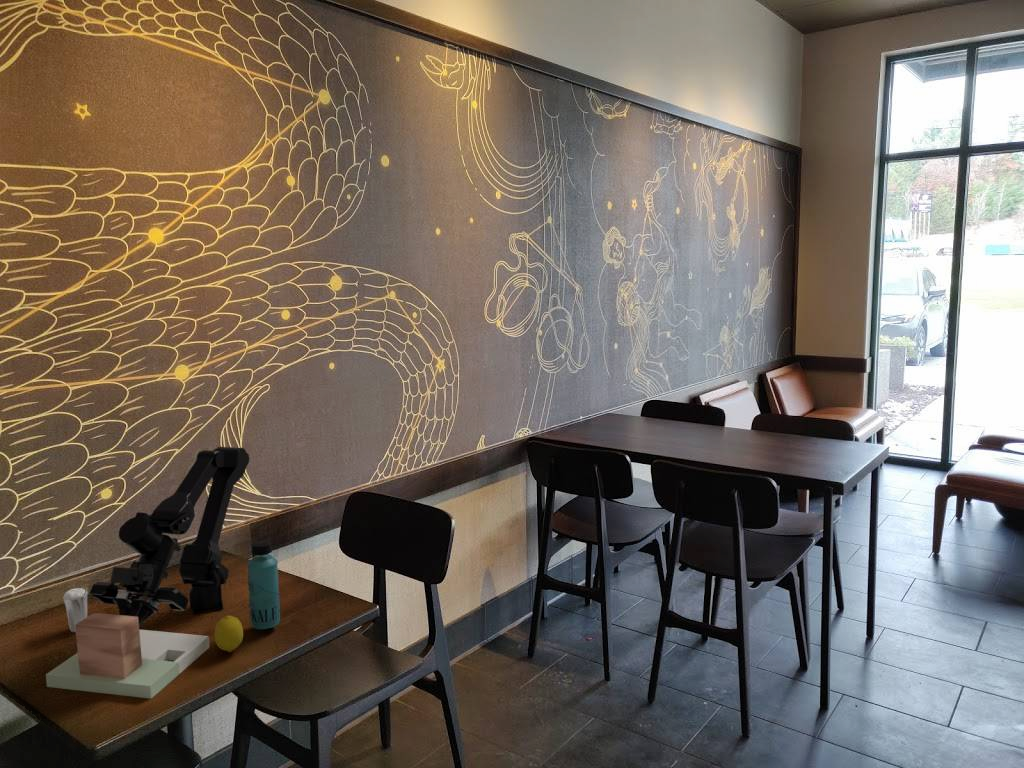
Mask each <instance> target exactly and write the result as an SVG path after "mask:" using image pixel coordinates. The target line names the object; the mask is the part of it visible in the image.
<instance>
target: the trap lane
mask: <svg viewBox="0 0 1024 768" xmlns="http://www.w3.org/2000/svg"><path fill="white" fill-rule="evenodd" d="M139 633H140V644H141V656H142V666H140V667H139V668H138V669H137V670H135V671H134V672H133V673H132V674H130V675H129V676H128V677H127V678H125V679H120V678H111V677H102V676H93V675H83V674H80V669H79V659H78V652H76V653H75V654H74V655H72V656H70V657H69V658H68V659H67V660H64V661H63V662H61V663H60V664H59V665H57V666H55V668H53V669H51V670H50V671H48V673H46V674H45V680H46V687H47V688H56V689H61V690H62V689H63V690H64V689H65V690H72V691H81V692H90V693H98V694H99V693H100V694H106V695H107V694H109V695H116V696H125V697H126V696H127V697H133V698H142V699H151V700H152V698H153V697H155V696H156V695H158V693H159V692H161V691H162V690H163V689H164V688H165V687H167V686H168V685H169V684H170V683H171V682H172V681H173V680H174V679H176V678H177V677H178V676H179V675H180V674H181V673H182V672H183V671H184V670H186V669H187V668H188V667H189V666H190V665H191V664H192V663H193V662H195V661H196V660H197V659H198V658H199V657H200V656H202V655H203V654H204V653H205V652H206V651H207V650H208V649H209V648H210V646H211V645H210V637H209V635H200V634H190V633H180V632H169V631H160V630H148V629H140V628H139Z"/></svg>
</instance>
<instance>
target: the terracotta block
mask: <svg viewBox="0 0 1024 768" xmlns="http://www.w3.org/2000/svg"><path fill="white" fill-rule="evenodd" d="M75 629H76V633H75V639H76V647H77V648H76V649H77V653H78V659H79V669H80V674H83V675H93V676H102V677H111V678H120V679H125V678H127V677H128V676H129V675H130V674H132V673H133V672H134V671H135V670H137V669H138V668H139V667H140V666H142V656H141V644H140V633H139V629H140V625H139V621H138V617H135V616H124V615H119V614H110V613H103V612H102V613H99V612H93V613H91V614H89V615H87V618H85V619H83V620H82V621H80V622H79V623H77V624H76V625H75Z"/></svg>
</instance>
